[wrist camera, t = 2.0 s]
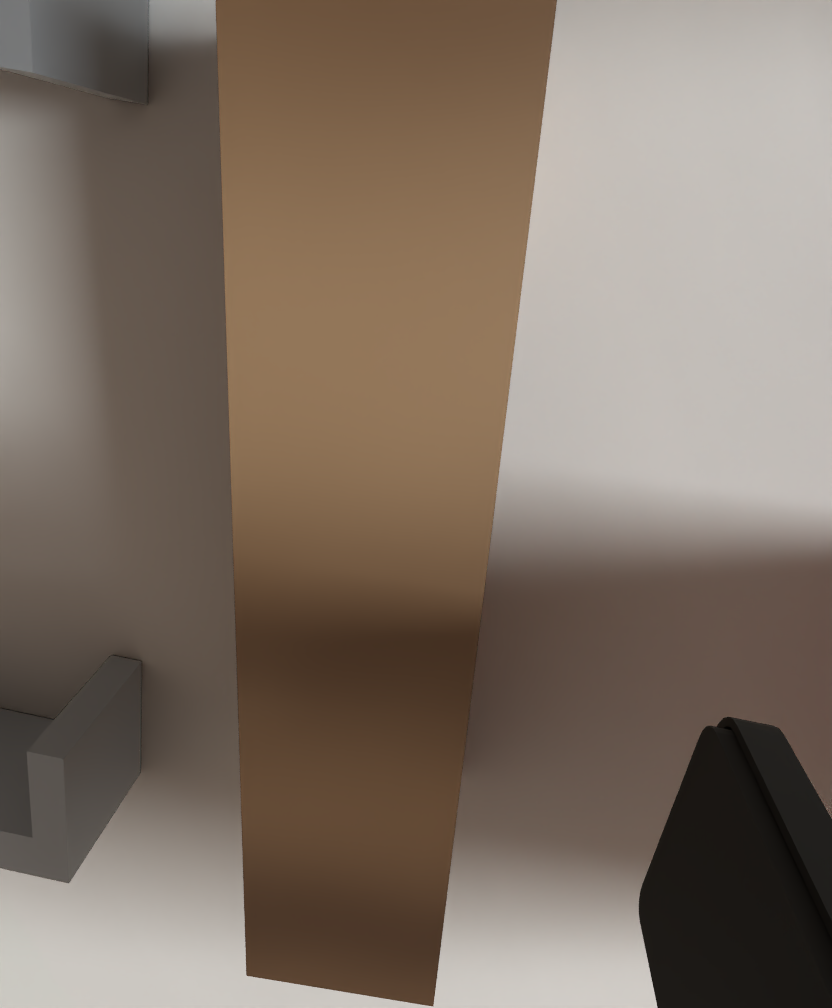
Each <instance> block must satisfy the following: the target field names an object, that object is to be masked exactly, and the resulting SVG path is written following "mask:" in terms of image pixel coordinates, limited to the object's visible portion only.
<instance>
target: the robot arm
mask: <svg viewBox="0 0 832 1008" xmlns="http://www.w3.org/2000/svg"><path fill="white" fill-rule="evenodd" d="M639 917H640V924H641V929H642V934H643V939H644V943H645V948H646V953H647V958H648V963H649V968H650V972H651V977H652V982H653V987H654V992H655V997H656V1002H657V1006H658V1008H832V819H831V817H830V815H829V814H828V812H827V810H826V808H825V807H824V805H823V803H822V801H821V799H820V798H819V796H818V794H817V792H816V791H815V789H814V787H813V785H812V784H811V782H810V780H809V778H808V777H807V775H806V773H805V771H804V769H803V768H802V766H801V764H800V762H799V761H798V759H797V757H796V755H795V754H794V752H793V750H792V748H791V746H790V745H789V743H788V741H787V739H786V738H785V736H784V734H783V733H782V732H781V730H780V729H779V728H777V727H775V726H772V725H767V724H762V723H757V722H752V721H747V720H742V719H737V718H732V717H726V718H723V719H722V720H721V721H720V722H719V724H718V726H717V727H713V726H707V727H705V728H704V729H703V731H702V733H701V735H700V737H699V740H698V742H697V745H696V747H695V750H694V752H693V755H692V758H691V760H690V763H689V765H688V768H687V771H686V773H685V776H684V778H683V781H682V784H681V786H680V789H679V791H678V794H677V796H676V799H675V802H674V804H673V807H672V809H671V812H670V815H669V817H668V820H667V822H666V825H665V828H664V830H663V833H662V835H661V838H660V840H659V843H658V846H657V848H656V851H655V853H654V856H653V859H652V861H651V864H650V866H649V869H648V872H647V874H646V877H645V879H644V882H643V884H642V888H641V892H640V898H639Z"/></svg>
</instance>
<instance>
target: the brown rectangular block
mask: <svg viewBox="0 0 832 1008" xmlns="http://www.w3.org/2000/svg"><path fill="white" fill-rule="evenodd" d="M556 3H557V0H216V25H217V57H218V89H219V120H220V152H221V184H222V215H223V247H224V278H225V310H226V342H227V373H228V405H229V436H230V468H231V500H232V531H233V563H234V595H235V626H236V658H237V689H238V721H239V753H240V784H241V816H242V847H243V879H244V911H245V942H246V974H247V976H252V977H258V978H264V979H270V980H276V981H282V982H288V983H294V984H300V985H306V986H313V987H319V988H325V989H331V990H337V991H343V992H349V993H355V994H361V995H367V996H373V997H379V998H385V999H391V1000H397V1001H403V1002H409V1003H416V1004H422V1005H428V1006H433V1004H434V996H435V988H436V979H437V971H438V963H439V955H440V947H441V939H442V931H443V923H444V914H445V906H446V898H447V890H448V882H449V874H450V866H451V857H452V849H453V841H454V833H455V825H456V817H457V809H458V800H459V792H460V784H461V776H462V768H463V760H464V752H465V744H466V735H467V727H468V719H469V711H470V703H471V695H472V687H473V678H474V670H475V662H476V654H477V646H478V638H479V630H480V622H481V613H482V605H483V597H484V589H485V581H486V573H487V565H488V556H489V548H490V540H491V532H492V524H493V516H494V508H495V499H496V491H497V483H498V475H499V467H500V459H501V451H502V443H503V434H504V426H505V418H506V410H507V402H508V394H509V386H510V377H511V369H512V361H513V353H514V345H515V337H516V329H517V321H518V312H519V304H520V296H521V288H522V280H523V272H524V264H525V255H526V247H527V239H528V231H529V223H530V215H531V207H532V198H533V190H534V182H535V174H536V166H537V158H538V150H539V142H540V133H541V125H542V117H543V109H544V101H545V93H546V85H547V76H548V68H549V60H550V52H551V44H552V36H553V28H554V19H555V11H556Z"/></svg>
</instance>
